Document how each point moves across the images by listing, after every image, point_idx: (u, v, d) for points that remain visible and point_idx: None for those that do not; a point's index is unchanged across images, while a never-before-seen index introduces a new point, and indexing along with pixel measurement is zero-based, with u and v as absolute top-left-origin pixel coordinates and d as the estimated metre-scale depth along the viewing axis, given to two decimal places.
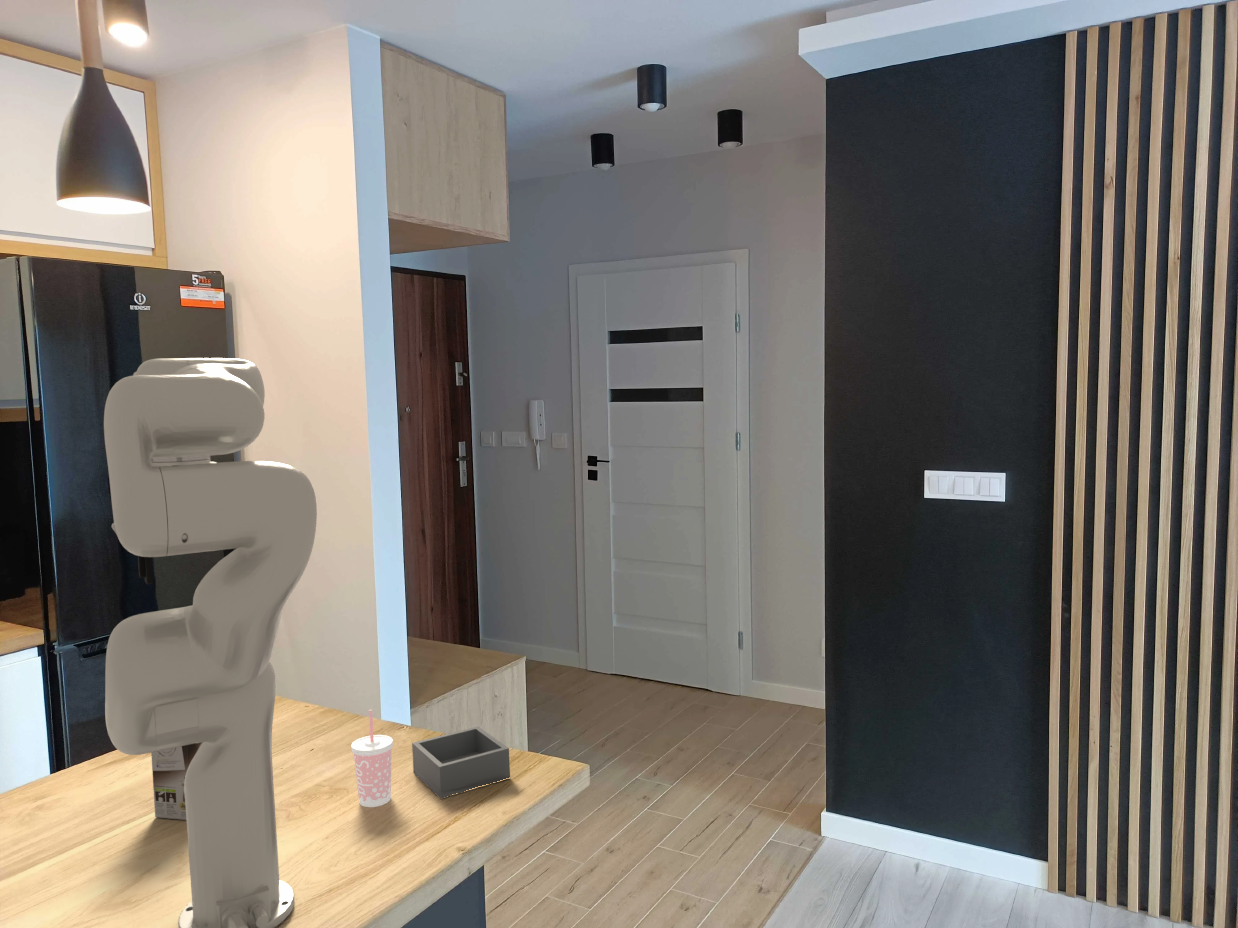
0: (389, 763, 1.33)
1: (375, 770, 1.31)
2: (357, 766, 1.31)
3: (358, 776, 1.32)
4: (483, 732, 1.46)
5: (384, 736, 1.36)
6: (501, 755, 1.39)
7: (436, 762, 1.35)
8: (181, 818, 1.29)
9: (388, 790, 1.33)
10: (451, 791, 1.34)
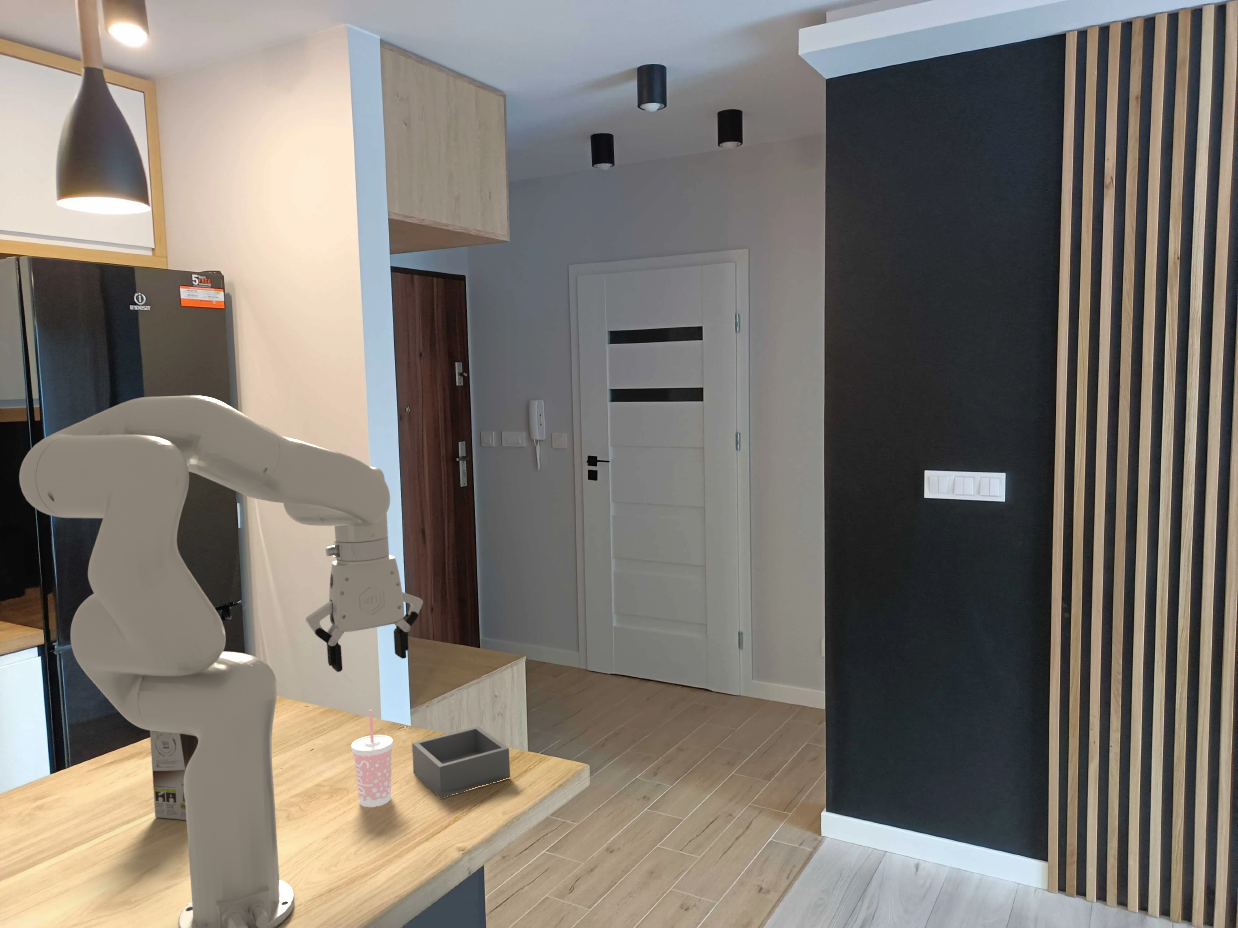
0: (389, 763, 1.33)
1: (375, 770, 1.31)
2: (357, 766, 1.31)
3: (358, 776, 1.32)
4: (483, 732, 1.46)
5: (384, 736, 1.36)
6: (501, 755, 1.39)
7: (436, 762, 1.35)
8: (181, 818, 1.29)
9: (388, 790, 1.33)
10: (451, 791, 1.34)
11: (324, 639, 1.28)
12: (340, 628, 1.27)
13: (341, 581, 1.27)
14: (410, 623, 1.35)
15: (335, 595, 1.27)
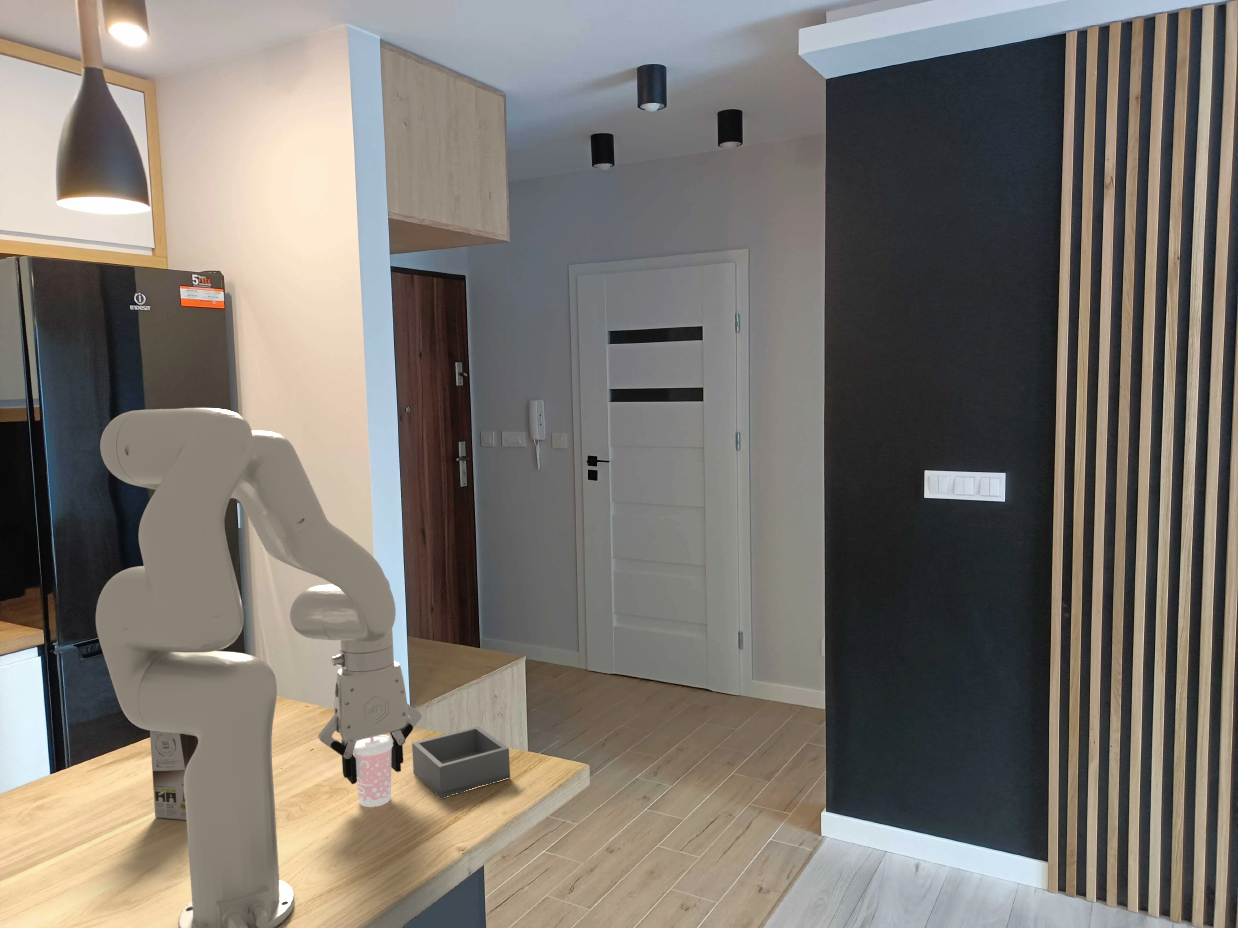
0: (389, 763, 1.33)
1: (375, 770, 1.31)
2: (357, 766, 1.31)
3: (358, 776, 1.32)
4: (483, 732, 1.46)
5: (384, 736, 1.36)
6: (501, 755, 1.39)
7: (436, 762, 1.35)
8: (181, 818, 1.29)
9: (388, 790, 1.33)
10: (451, 791, 1.34)
11: (339, 752, 1.30)
12: (344, 738, 1.28)
13: (346, 691, 1.28)
14: (405, 736, 1.35)
15: (340, 705, 1.28)
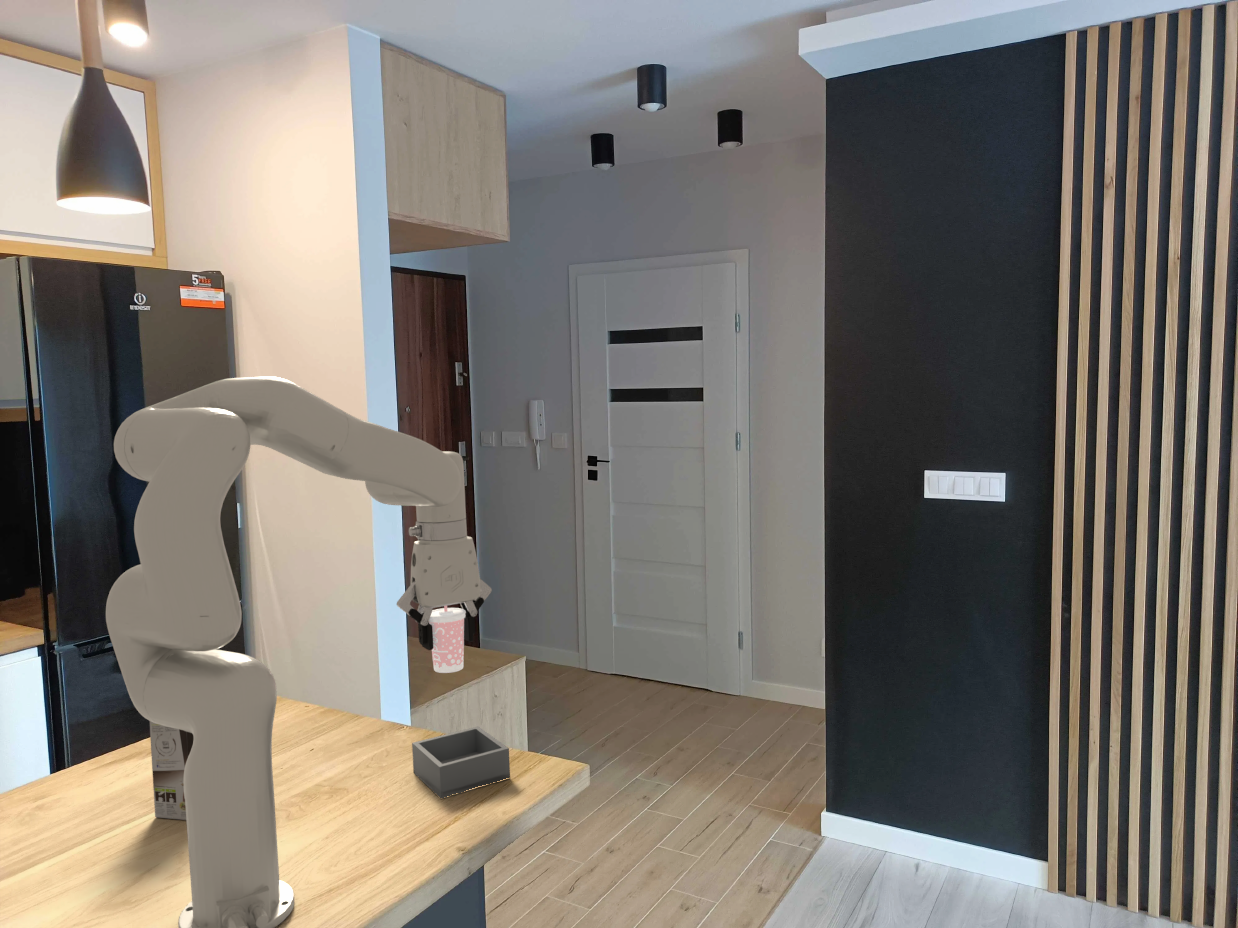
0: (462, 632, 1.39)
1: (450, 637, 1.37)
2: None
3: (433, 643, 1.37)
4: (483, 732, 1.46)
5: (456, 608, 1.41)
6: (501, 755, 1.39)
7: (436, 762, 1.35)
8: (181, 818, 1.29)
9: (461, 658, 1.39)
10: (451, 791, 1.34)
11: (417, 619, 1.35)
12: (423, 604, 1.34)
13: (424, 559, 1.34)
14: (477, 608, 1.41)
15: (418, 573, 1.34)
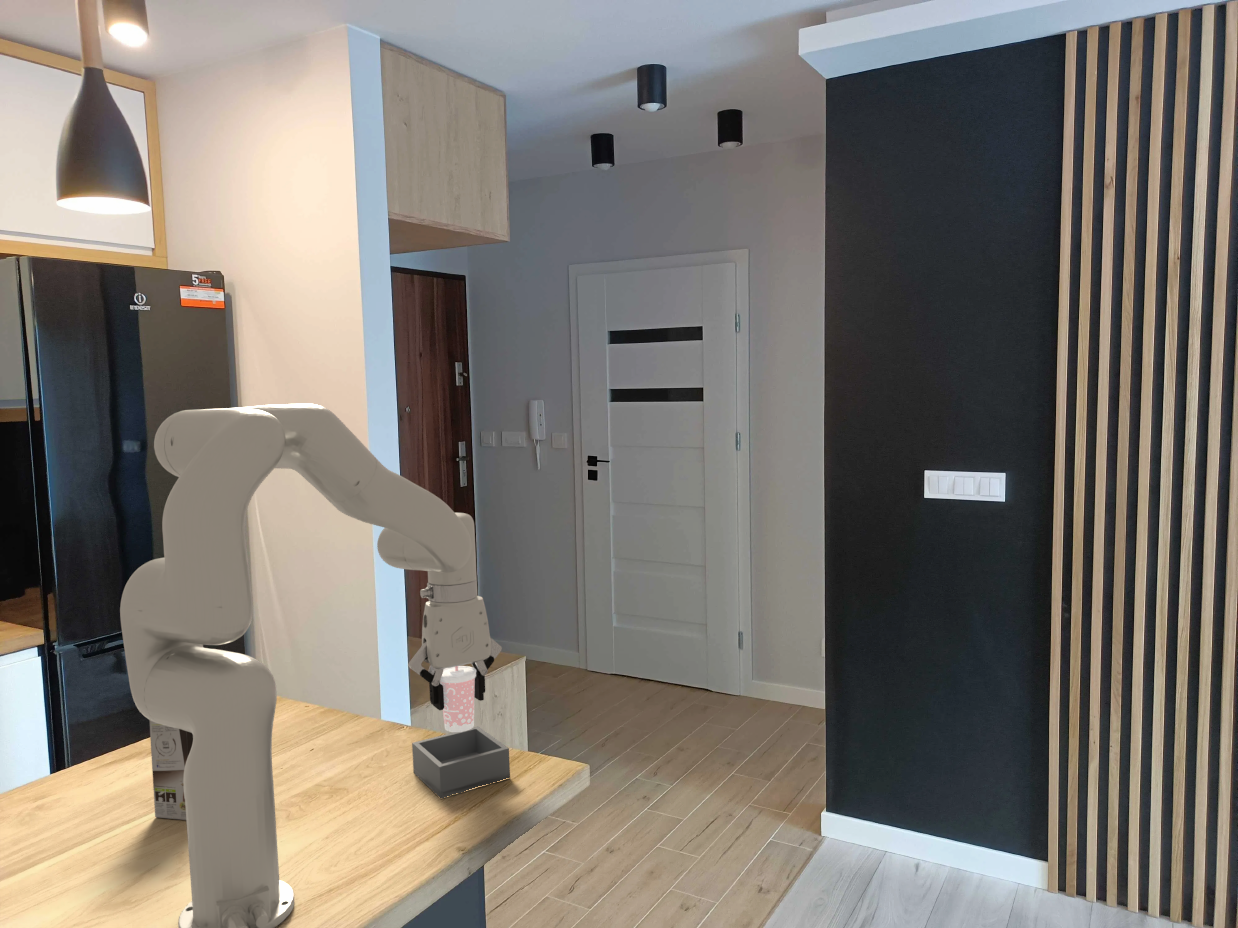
0: (473, 691, 1.40)
1: (461, 697, 1.38)
2: None
3: (444, 703, 1.39)
4: (483, 732, 1.46)
5: (467, 667, 1.43)
6: (501, 755, 1.39)
7: (436, 762, 1.35)
8: (181, 818, 1.29)
9: (472, 717, 1.40)
10: (451, 791, 1.34)
11: (428, 679, 1.37)
12: (434, 665, 1.35)
13: (435, 621, 1.35)
14: (487, 667, 1.42)
15: (429, 635, 1.35)
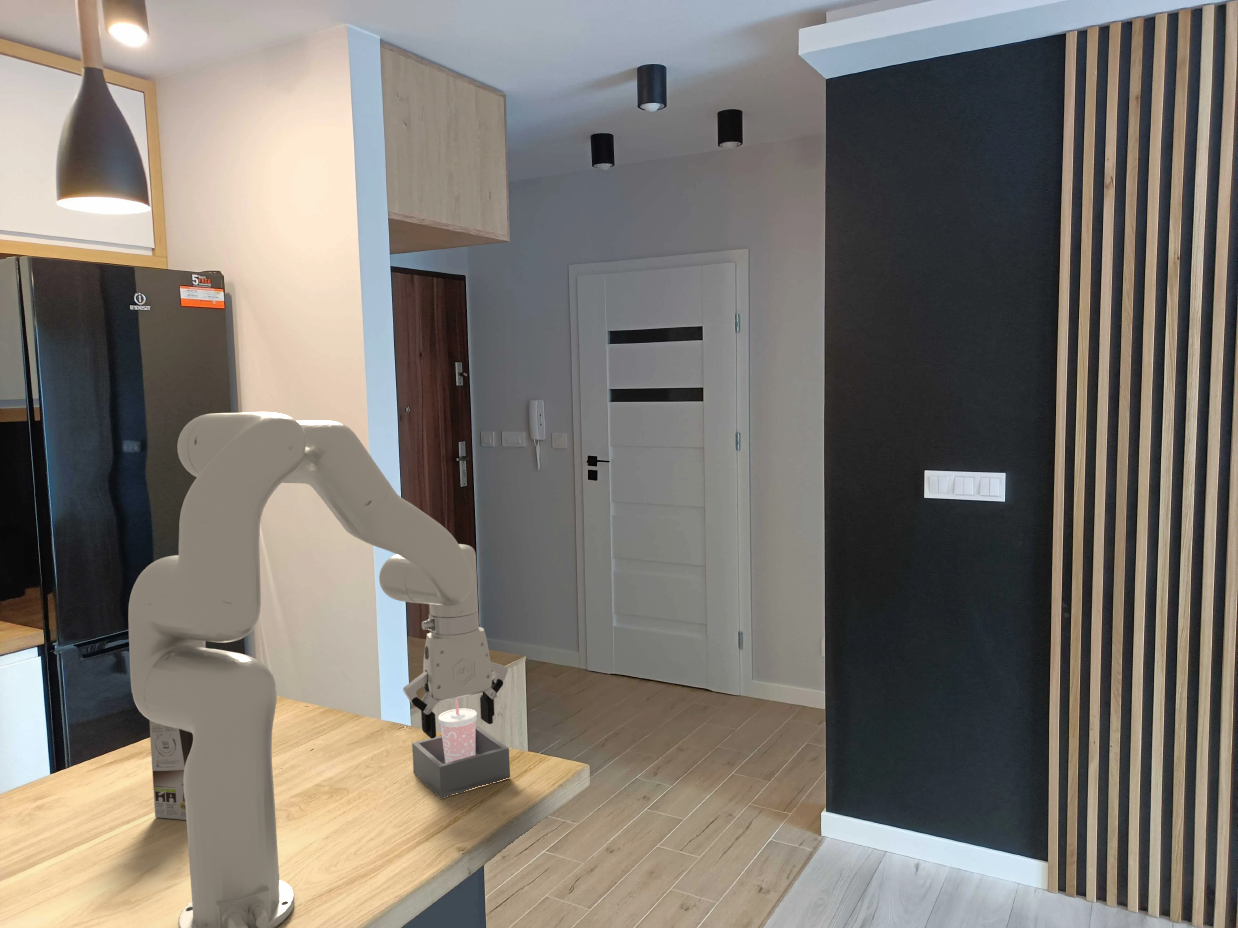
0: (474, 734, 1.41)
1: (462, 741, 1.39)
2: (445, 737, 1.39)
3: (446, 747, 1.39)
4: (483, 732, 1.46)
5: (467, 709, 1.43)
6: (501, 755, 1.39)
7: (436, 762, 1.35)
8: (181, 818, 1.29)
9: None
10: (451, 791, 1.34)
11: (420, 708, 1.36)
12: (435, 697, 1.36)
13: (437, 654, 1.35)
14: (496, 690, 1.43)
15: (431, 667, 1.36)
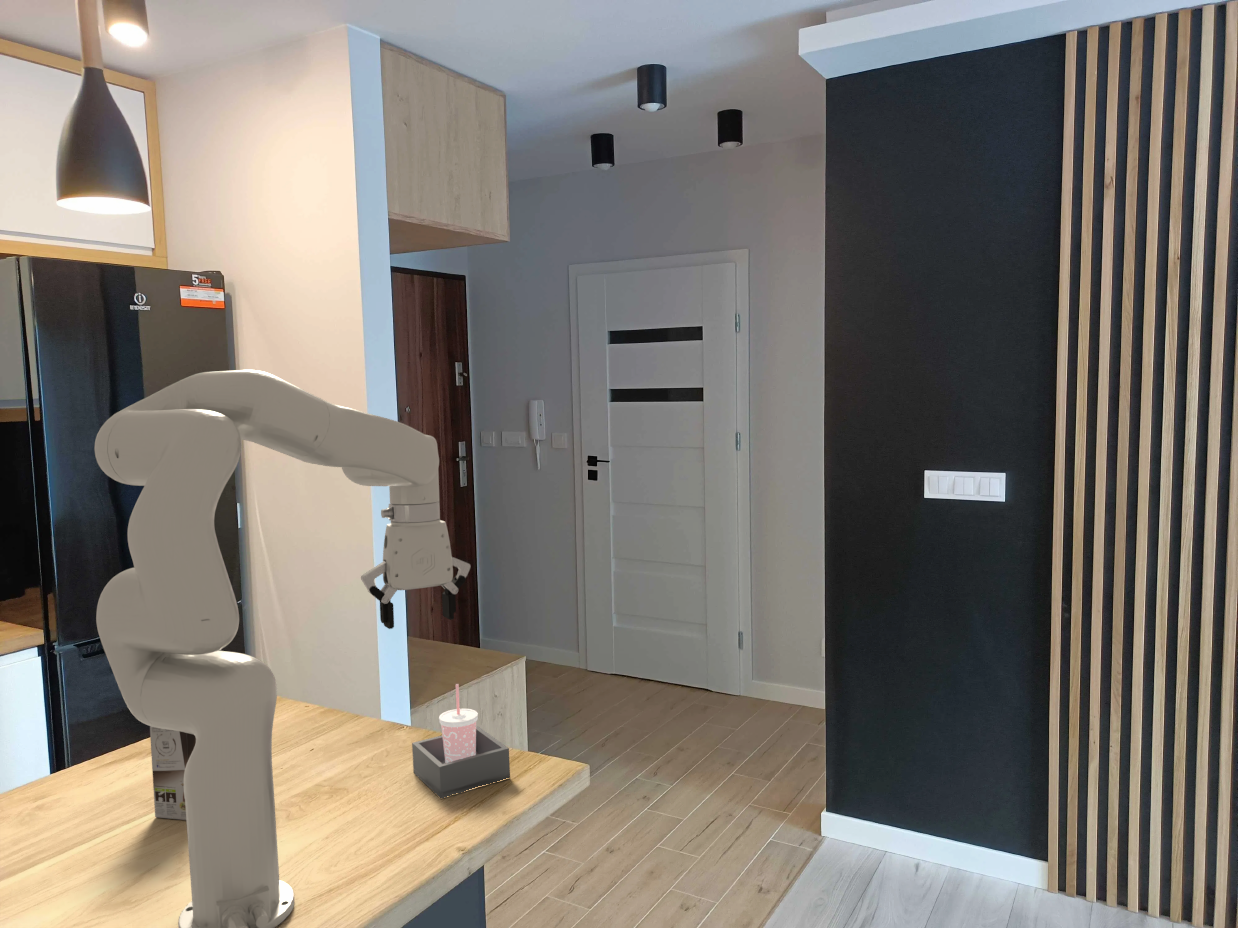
0: (475, 734, 1.41)
1: (463, 741, 1.39)
2: (445, 737, 1.39)
3: (446, 747, 1.39)
4: (483, 732, 1.46)
5: (468, 709, 1.43)
6: (501, 755, 1.39)
7: (436, 762, 1.35)
8: (181, 818, 1.29)
9: None
10: (451, 791, 1.34)
11: (377, 597, 1.34)
12: (393, 586, 1.34)
13: (395, 541, 1.34)
14: (458, 586, 1.41)
15: (389, 555, 1.34)
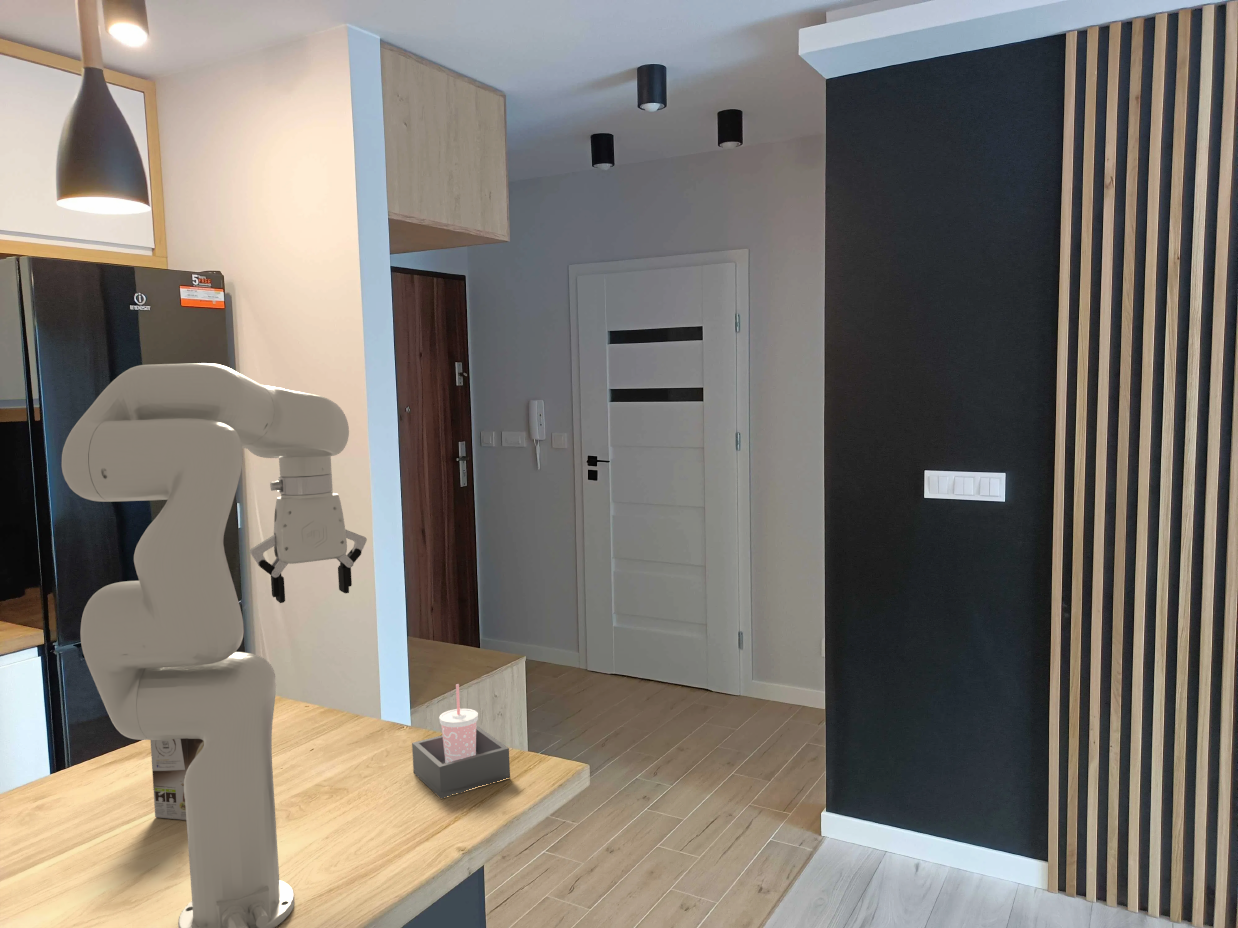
0: (475, 735, 1.41)
1: (463, 741, 1.39)
2: (445, 737, 1.39)
3: (446, 747, 1.39)
4: (483, 732, 1.46)
5: (468, 710, 1.43)
6: (501, 755, 1.39)
7: (436, 762, 1.35)
8: (181, 818, 1.29)
9: None
10: (451, 791, 1.34)
11: (267, 570, 1.32)
12: (282, 559, 1.32)
13: (284, 514, 1.32)
14: (353, 559, 1.39)
15: (278, 528, 1.32)
